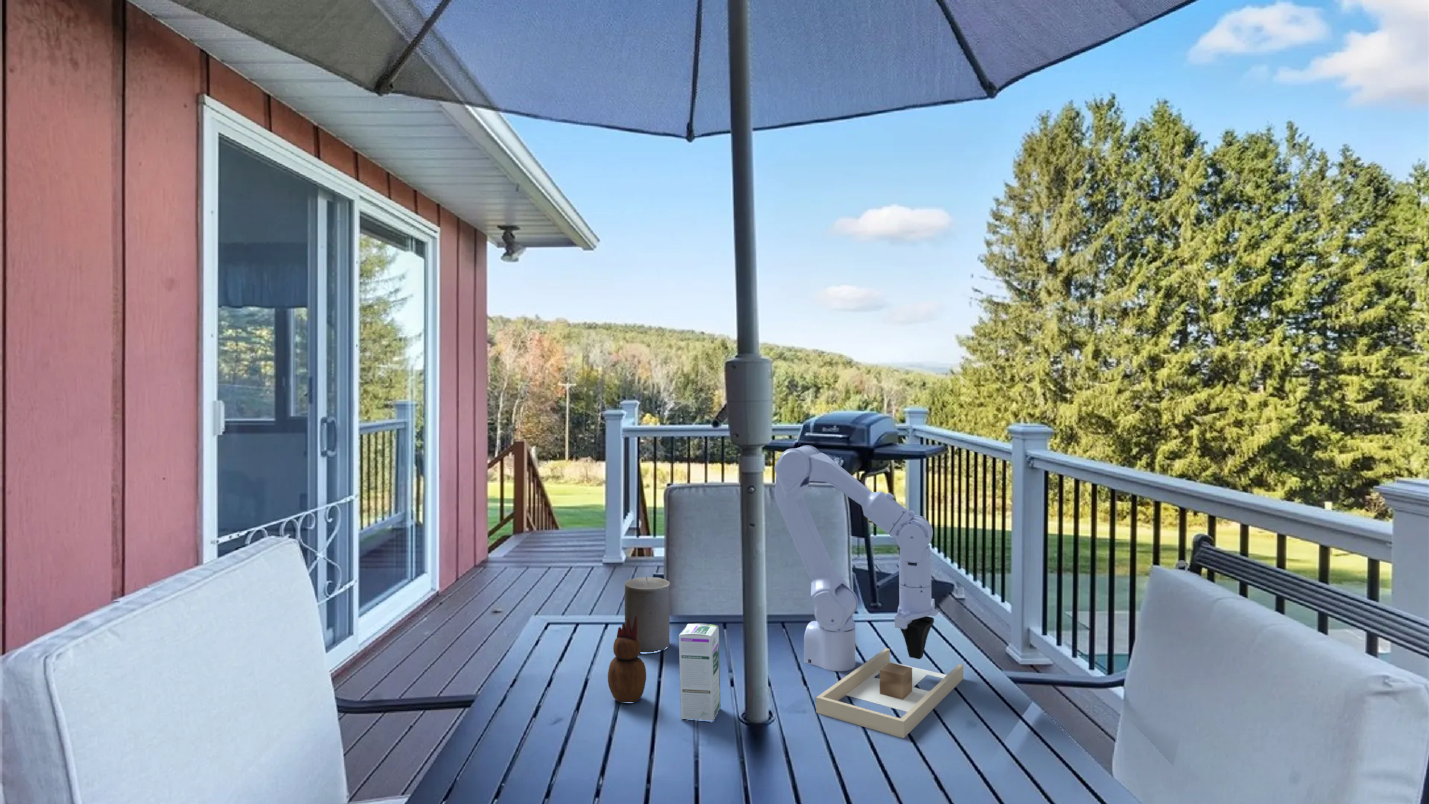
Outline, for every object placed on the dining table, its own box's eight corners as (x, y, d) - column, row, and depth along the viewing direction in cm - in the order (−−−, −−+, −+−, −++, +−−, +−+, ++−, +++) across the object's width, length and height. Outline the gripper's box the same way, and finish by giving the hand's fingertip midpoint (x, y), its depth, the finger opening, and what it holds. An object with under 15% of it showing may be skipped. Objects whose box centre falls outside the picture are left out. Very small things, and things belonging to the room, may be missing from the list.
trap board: (816, 721, 119) (816, 697, 119) (885, 668, 142) (885, 648, 142) (903, 747, 110) (903, 721, 110) (963, 686, 133) (963, 665, 133)
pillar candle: (616, 652, 152) (616, 580, 151) (635, 636, 161) (635, 569, 161) (660, 657, 149) (660, 584, 148) (676, 641, 158) (676, 572, 158)
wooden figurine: (652, 700, 128) (651, 615, 128) (627, 710, 124) (626, 623, 124) (627, 689, 133) (626, 607, 132) (602, 699, 128) (601, 615, 128)
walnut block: (879, 693, 126) (879, 669, 126) (889, 685, 130) (889, 662, 130) (902, 699, 124) (902, 675, 124) (912, 691, 127) (912, 667, 127)
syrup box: (714, 723, 119) (713, 635, 119) (679, 720, 120) (678, 633, 120) (720, 708, 124) (720, 624, 124) (687, 705, 126) (686, 622, 125)
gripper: (921, 596, 125) (922, 674, 126) (950, 578, 137) (950, 650, 137) (883, 590, 130) (884, 665, 130) (914, 573, 141) (914, 642, 142)
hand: (915, 657), depth 134 cm, fingers closed
